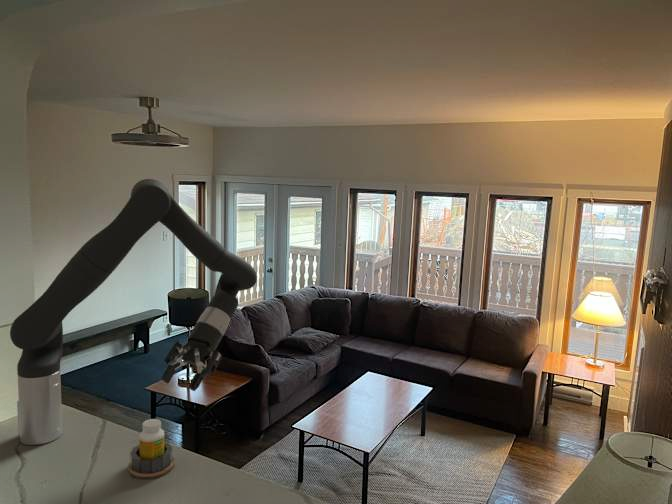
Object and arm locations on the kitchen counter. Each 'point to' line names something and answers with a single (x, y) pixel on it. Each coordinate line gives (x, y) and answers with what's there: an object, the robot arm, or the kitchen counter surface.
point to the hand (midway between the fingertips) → (177, 385)
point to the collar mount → (150, 464)
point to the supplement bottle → (151, 439)
